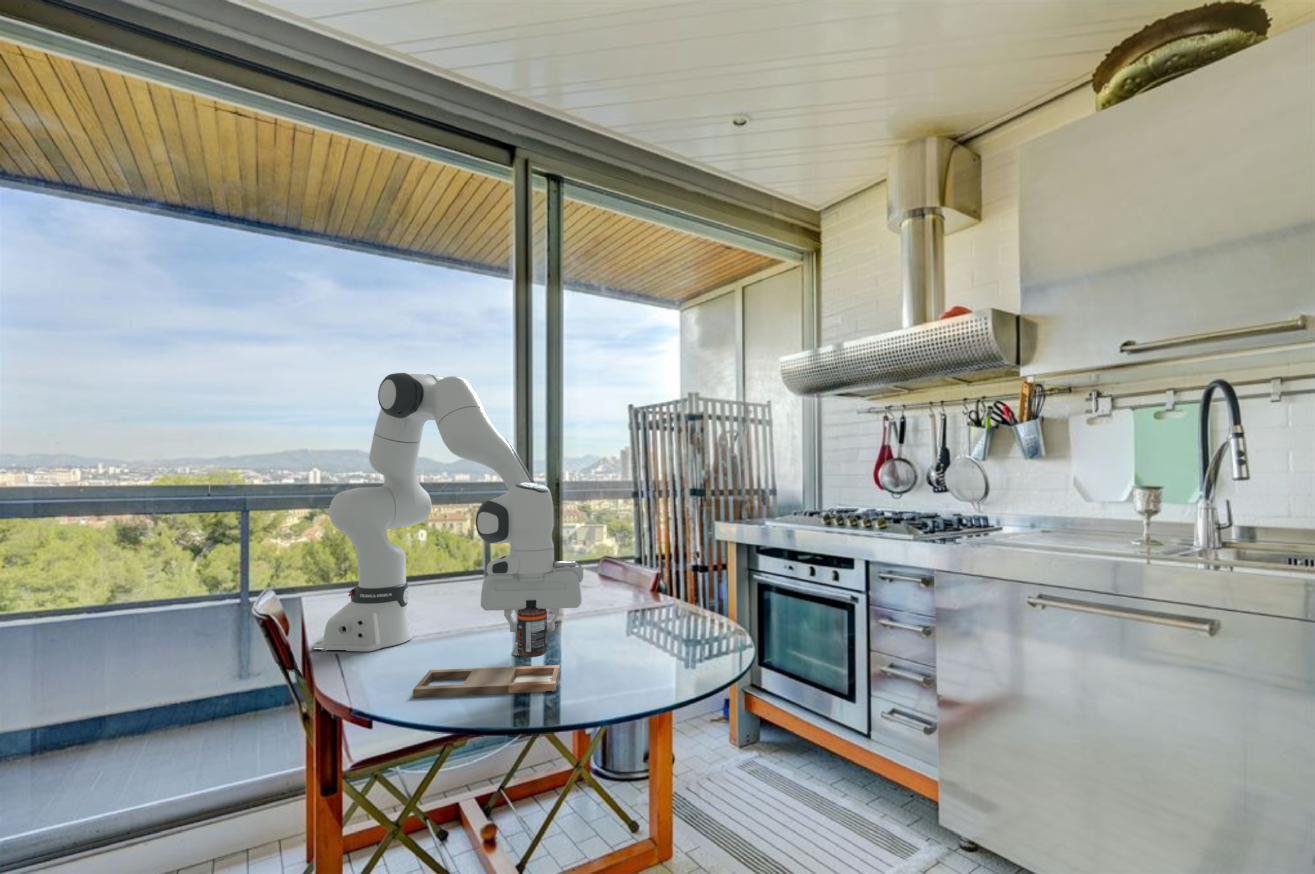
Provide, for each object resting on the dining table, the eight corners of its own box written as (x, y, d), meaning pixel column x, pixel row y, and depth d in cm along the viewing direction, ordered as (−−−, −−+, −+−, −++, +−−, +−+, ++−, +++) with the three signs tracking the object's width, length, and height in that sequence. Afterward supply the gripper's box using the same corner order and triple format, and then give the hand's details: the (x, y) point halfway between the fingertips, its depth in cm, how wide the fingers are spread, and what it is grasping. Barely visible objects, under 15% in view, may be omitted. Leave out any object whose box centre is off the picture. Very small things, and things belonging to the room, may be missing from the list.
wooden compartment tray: (412, 697, 118) (412, 689, 118) (429, 677, 129) (429, 670, 129) (555, 691, 120) (555, 683, 120) (559, 672, 131) (559, 665, 131)
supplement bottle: (514, 651, 127) (514, 596, 127) (543, 647, 129) (543, 593, 129) (520, 660, 121) (520, 601, 122) (550, 655, 123) (550, 599, 124)
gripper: (583, 558, 130) (584, 624, 129) (485, 561, 128) (485, 628, 128) (582, 563, 123) (583, 633, 123) (478, 566, 122) (478, 636, 121)
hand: (532, 630), depth 125 cm, fingers closed on supplement bottle, 6 cm apart
